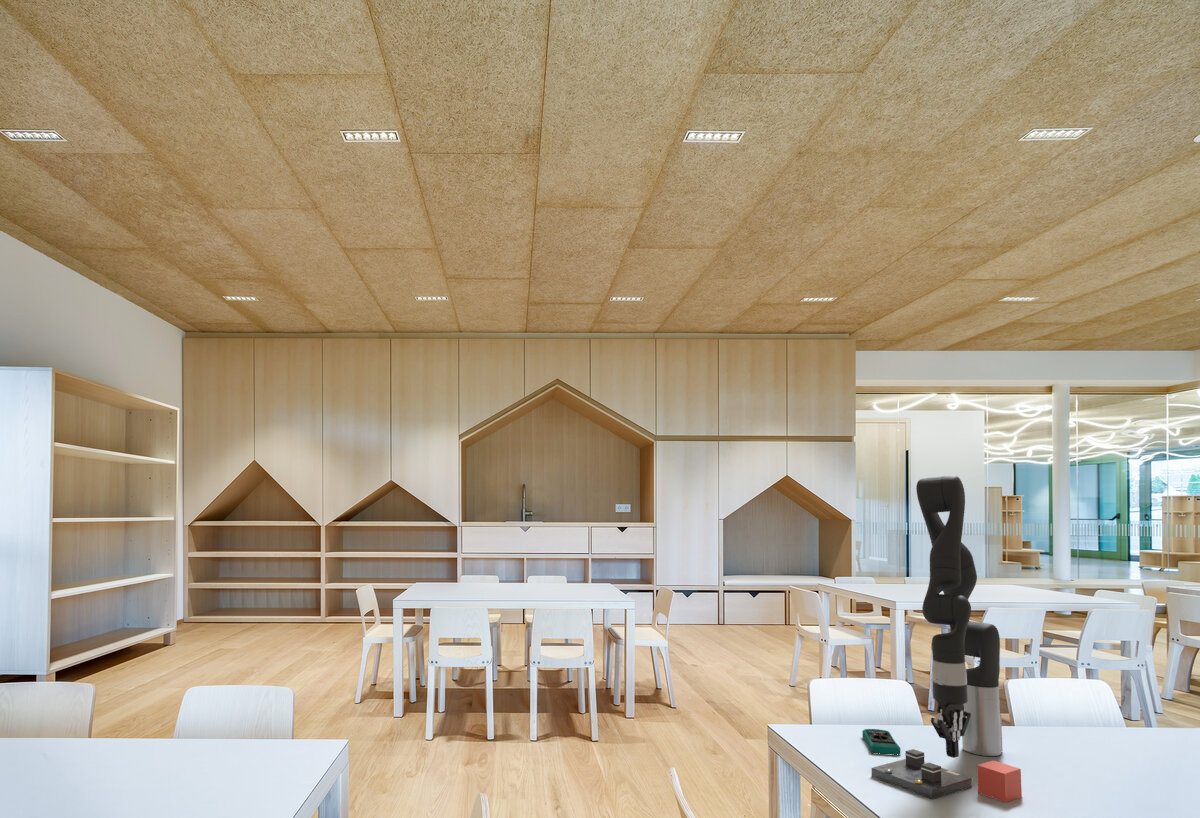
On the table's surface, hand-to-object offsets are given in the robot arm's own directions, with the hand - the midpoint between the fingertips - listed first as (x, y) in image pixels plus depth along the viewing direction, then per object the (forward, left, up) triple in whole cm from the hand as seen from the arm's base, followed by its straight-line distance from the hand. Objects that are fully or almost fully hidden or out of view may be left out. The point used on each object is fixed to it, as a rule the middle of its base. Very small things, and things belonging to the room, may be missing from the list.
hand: (952, 756), depth 181 cm
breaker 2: (+8, 0, -4) cm, 9 cm away
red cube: (-3, +10, -6) cm, 12 cm away
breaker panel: (+6, -4, -6) cm, 9 cm away
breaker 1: (+2, -8, -4) cm, 10 cm away
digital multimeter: (-8, -26, -7) cm, 28 cm away
